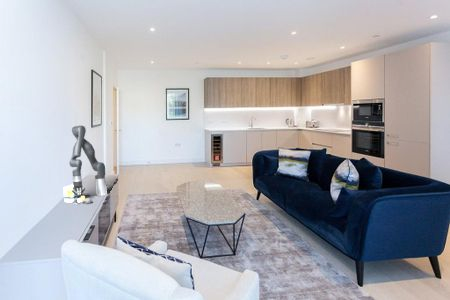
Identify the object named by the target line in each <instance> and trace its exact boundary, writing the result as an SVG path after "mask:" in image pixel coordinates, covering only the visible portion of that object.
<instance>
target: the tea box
mask: <svg viewBox="0 0 450 300" xmlns="http://www.w3.org/2000/svg"><path fill="white" fill-rule="evenodd" d="M73 188H74V186H73V183H72V184H70V185H66V186H63V198H64V199H63V200H64V203H72V201H76V200H77V199H78V198H77V195H75V194H74V193H73V192H72V191H71V190H73ZM81 191H82V190H81ZM74 192H75V193H76V191H75V190H74ZM81 196H84V195H83V194H81Z"/></svg>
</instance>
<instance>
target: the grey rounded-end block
mask: <svg viewBox="0 0 450 300" xmlns="http://www.w3.org/2000/svg"><path fill="white" fill-rule="evenodd" d="M91 200H92V198H91V197H85V204H84V205H91V204H92V202H91Z"/></svg>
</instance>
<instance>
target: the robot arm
mask: <svg viewBox="0 0 450 300" xmlns="http://www.w3.org/2000/svg"><path fill="white" fill-rule="evenodd" d="M71 128H72V129H71V132H72V134H73V136H74V138H75V139H76V142H75V143H74V146H73V148H72V155H71V157H70V159H69V167H71V168H75V169H73V170H72V184H73V186H74V188H73V190H71V191H72V192H73V193H74V194H75V195H77V198H81V194H82V195H83V193H84V192H85V191H86V188H85V187H83V181H82V180H83V179H82V173H81V171H82V165H83V161H82V160H81V159H78V158H81V156H82V151H83V152H84V153H85V155H86V157H87V159H88V161H89V163H90V165H91V168H92V169H93V171H95V172H96V173H97V174H96V175H94V179H95V180H94V181H95V191H96V196H97V197H102V196H106V195H108V191H107V184H106V166H105V164H104V162H102V161H101V162H99V161H98V160H97V158H96V151H95V149H94V146H93V145H92V143H91V142H90V141H88V140H87V139H86V138H85V136H86V132H87V131H86V130H87V129H86V128H85V126H84V125H75V126H73V127H71ZM74 190H75V191H76V193H75V192H74ZM81 190H82V191H81Z"/></svg>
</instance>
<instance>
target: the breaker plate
mask: <svg viewBox="0 0 450 300" xmlns="http://www.w3.org/2000/svg"><path fill="white" fill-rule="evenodd" d="M91 203H93V199H91ZM71 204H73V205H75V204H76V205H75V206H79V205H80V204H81V205H86V204H85V199H84V200H82V202H78V201H77V200H76V201H72V202H71Z"/></svg>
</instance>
